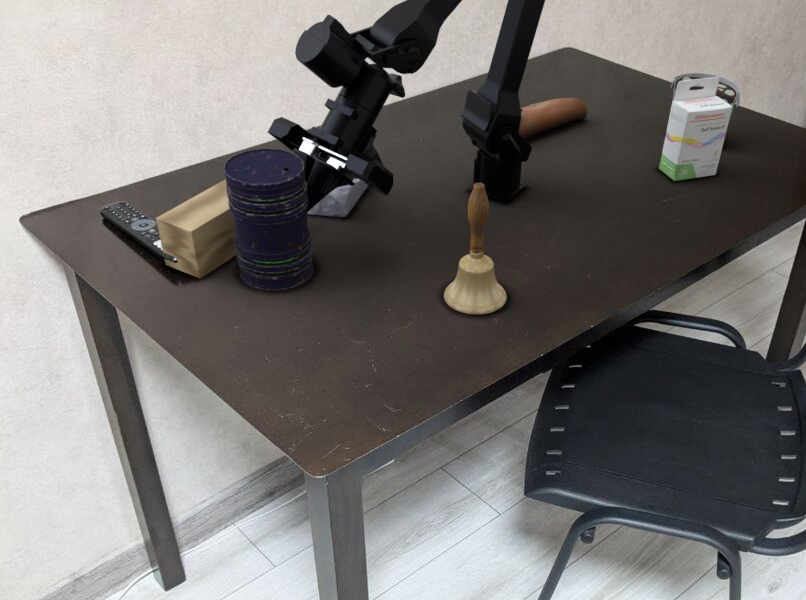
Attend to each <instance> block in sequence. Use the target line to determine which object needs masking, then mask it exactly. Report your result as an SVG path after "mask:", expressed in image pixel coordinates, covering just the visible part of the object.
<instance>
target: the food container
mask: <svg viewBox="0 0 806 600" xmlns="http://www.w3.org/2000/svg"><path fill="white" fill-rule="evenodd" d="M712 77H719V83H718V87H717V90H716V94H715V96H718V97H719V98H721V99H722V100H724V101H725V102H727V103H728V104H729V105H731V106H732V111H731V115H730V119H729V121H730V120H731V118H732V115H733V112H734V109H735V105H736V108H738V107H739V106H740V99H741V98H740V97H741V93H740V88H739V86H738V85H737V84H736V83H735V82H733V81H731V80H729V79H728V78H725V77H723V76H719V75H715V74H710V73H703V72H689V73H687V72H686V73H682V74H679V75H676V76H675V77H674V79H673V81H672V82H671V85H670V88H669V89H673V90H672V91H673V93H672V101H673V100H674V96H675V92H676V88H677V84H678V82H679V81H686V80H693V79H702V78H712ZM703 88H704V85H702V86H700V85H699V84H697V85H696V86H693V87H690V89H689V90H690V91H691V90H699V89H703Z"/></svg>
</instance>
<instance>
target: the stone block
mask: <svg viewBox="0 0 806 600" xmlns="http://www.w3.org/2000/svg"><path fill="white" fill-rule="evenodd" d="M353 182H354V183H355V185H353V186H350V185H345V186H341V187H338V188H336V189H334V190H333V191H332V192H330V193H329V194H328V195H326V196H325V197H324V198H323V199H322V200H321V201H320V202H319V203H317V204H316V205H315V206H314V207H313V208H312V209H311V210H310V211H308V212H307V215H312V216H326V217H334V218H336V217H337V218H346V217H347V216H348V215H349V214H350V212H351V211H352V210H353V208H354V207H355V205H356V203H357V202H358V201H359V200H360V198H361V196H362V195H363V194H364V192H365V191H366V190H367V188H368V187H369V185H367V184H365V182H364V181H362V180H359V179H357V178H356V179H353Z"/></svg>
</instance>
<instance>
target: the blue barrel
mask: <svg viewBox="0 0 806 600" xmlns="http://www.w3.org/2000/svg"><path fill="white" fill-rule="evenodd" d="M223 170H224V176H225V179H226V184H227V185H226V190H227V196H228V199H229V202H228V205H229V207H230V211H231V213H232V214H233V218H234V225H235V231H236V232H235V235H234V243H235V246H236V256H235V257H236V260H237V263H238V266H239V275H240V278H241V279H242V281H243V282H244V283H246V284H247V285H249V286H250V287H253V288H255V289H259V290H265V291H282V290H288V289H293V288H295V287H298V286H300V285H302V284H305V282H307V281H308V280H309V279H310V278H311V277H312V275H313V274H314V263H313V253H314V251H313V242H312V240H313V239H312V233H311V230H310V229H309V225H308V214H307V213H306V210H307V207H308V197H307V183H306V181H305V174H304V172H305V171H304V163H303V161H302V159H301V158H300V157H298V156H297V154H295V153H294V152H290V151H287V150H283V149H277V148H257V149H251V150H245V151H243V152H240V153H239V152H238V153H237V154H234V155H233V156H231V157H230V158H228V159H227V160H226V162H225V163H224V165H223Z"/></svg>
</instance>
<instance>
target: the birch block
mask: <svg viewBox="0 0 806 600" xmlns="http://www.w3.org/2000/svg"><path fill="white" fill-rule="evenodd" d="M226 185H227V184H226V178H225V179H224V180H223V179H222V181H220V182H218V183H216V184H214V185H212V186H210V187H209V188H208V189H206V190H203V191H201V192H200V193H198V194H197V195H195V196H193V197H191V198H189V199H188V200H186V201H184V202H182V203H181V204H179V205H177V206H175V207H174V208H172V209H169V210H168V211H166V212H164V213H163V214H161V215H159V216H157V217H156V218H155V220H156V227H157V230H158V235H159V240H160V245H161V250H162V253H165V254H166V253H167V254H169V255H171V256H173V257H174V258H176V259H177V261H178V262H177V263H174V262H171V261H169V260H166V259H164V263H165V266H167V267H169V268H172V269H175V270H177V271H179V272H182V273H185V274H188V275H190V276H193V277H195V278H198V279H202V278H203V277H205V276H206V275H208V274H210V273H211V272H213V271H215V269H217V268H218V267H220V266H221V265H223V264H225V263H226V262H228V261H229V260H231V259H233V258H235V257H237V256H236V246H235V243H234V235H235V232H236V231H235V225H234V218H233V214H232V213H231V211H230V207H229V205H228V202H229V199H228V196H227V190H226Z"/></svg>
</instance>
